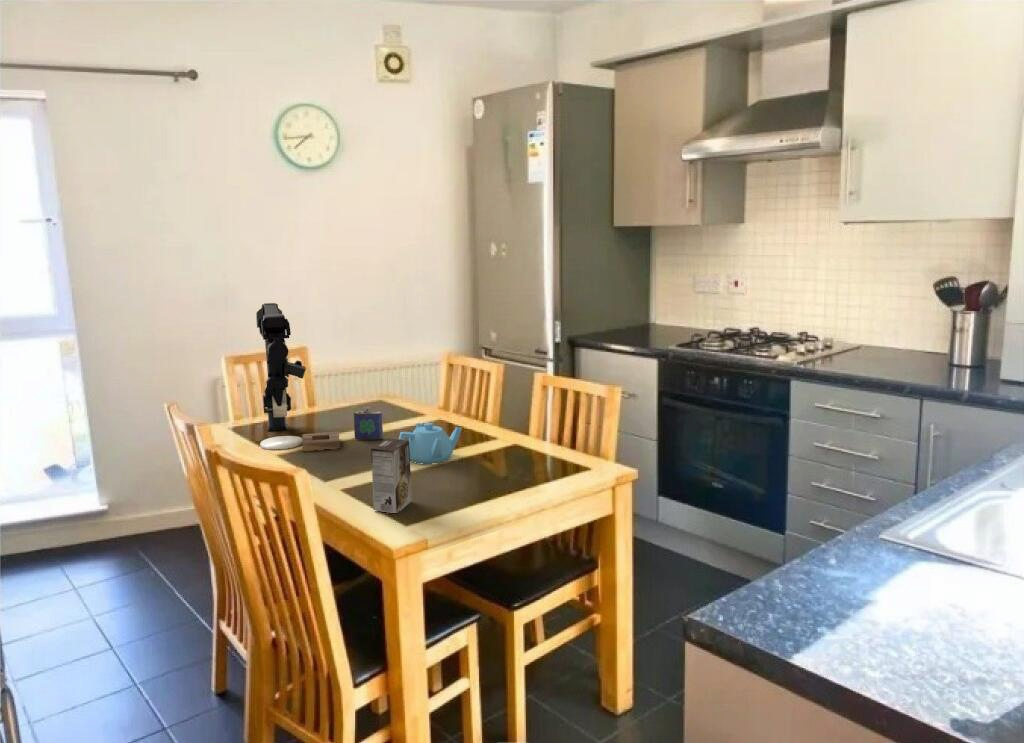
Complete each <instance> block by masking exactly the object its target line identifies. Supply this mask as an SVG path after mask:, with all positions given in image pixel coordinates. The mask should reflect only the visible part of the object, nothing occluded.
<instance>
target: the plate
mask: <svg viewBox="0 0 1024 743" xmlns="http://www.w3.org/2000/svg"><path fill="white" fill-rule="evenodd" d="M259 444H260V445H259V446H260V448H262V449H264V450H268V449H269V450H271V449H273V450H271V451H279V450H278V449H283V450H289V449H288V448H290V449H294V448H293V447H295V448H298V447H300V446H301V444H302V437H300V436H295V435H279V436H273V437H269V438H266V439H263V440H262V441H261V442H260V443H259ZM299 445H300V446H299ZM297 446H298V447H297ZM274 449H275V450H274ZM276 449H277V450H276Z"/></svg>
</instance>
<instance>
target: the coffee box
mask: <svg viewBox="0 0 1024 743" xmlns="http://www.w3.org/2000/svg"><path fill="white" fill-rule="evenodd" d="M370 452H371V455H370V457H371V474H372V475H371V476H372V478H371V479H372V498H373V501H372V502H373V504H372V505H373V511H374V510H377V511H382V512H390V513H398V512H399V511H400V512H401V511H402V510H403V509H404V508H406V507H407V506H408V505H410V503H411V502H412V501H413V500H412V498H413V497H412V478H411V477H412V476H411V460H410V449H409V439H408V440H406V439H405V440H400V439H399V438H389V437H387V438H385V439H384V440H383V439H382V440H381V442H379V443H378V444H376V445H374V446H373V447H371V449H370ZM400 512H399V513H400Z"/></svg>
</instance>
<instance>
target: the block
mask: <svg viewBox="0 0 1024 743" xmlns="http://www.w3.org/2000/svg"><path fill="white" fill-rule="evenodd" d="M286 391H287V388H286V389H285V390H284V391H283V398H282V405H281V406H277V404H276V402H275V400H274V398H273V396H272V401H273V416H274V417H286V418H287V417H288V411H287V403H286Z"/></svg>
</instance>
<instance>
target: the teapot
mask: <svg viewBox="0 0 1024 743" xmlns="http://www.w3.org/2000/svg"><path fill="white" fill-rule="evenodd" d="M462 429H463V428H462V427H458V426H457V427H456V426H455V428H454V430H453V431H452V432H451V435H450V436H449V435H448V434H447V433H446V431H445V430H444V428H442V427H441V426H437V425H434V423H432V422H426V423H423V426H422V423H420V422H419V423H415V429H414V430H413V432H410V431H409V432H408V431H400V433H399V437H398V439H400V440H406V438H408V440H409V449H410V462H412V461H413V462H412V463H414V462H416V463H415V464H417V463H423V464H422V465H433V464H432V463H438V464H440V463H439V462H442V463H444V462H443V461H445V462H447V461H448V460H449V459H450V458H451V456H453V453H454V450H455V448H456V446H457V443H458V440H459V438H460V436H461V432H462ZM446 460H447V461H446Z"/></svg>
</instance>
